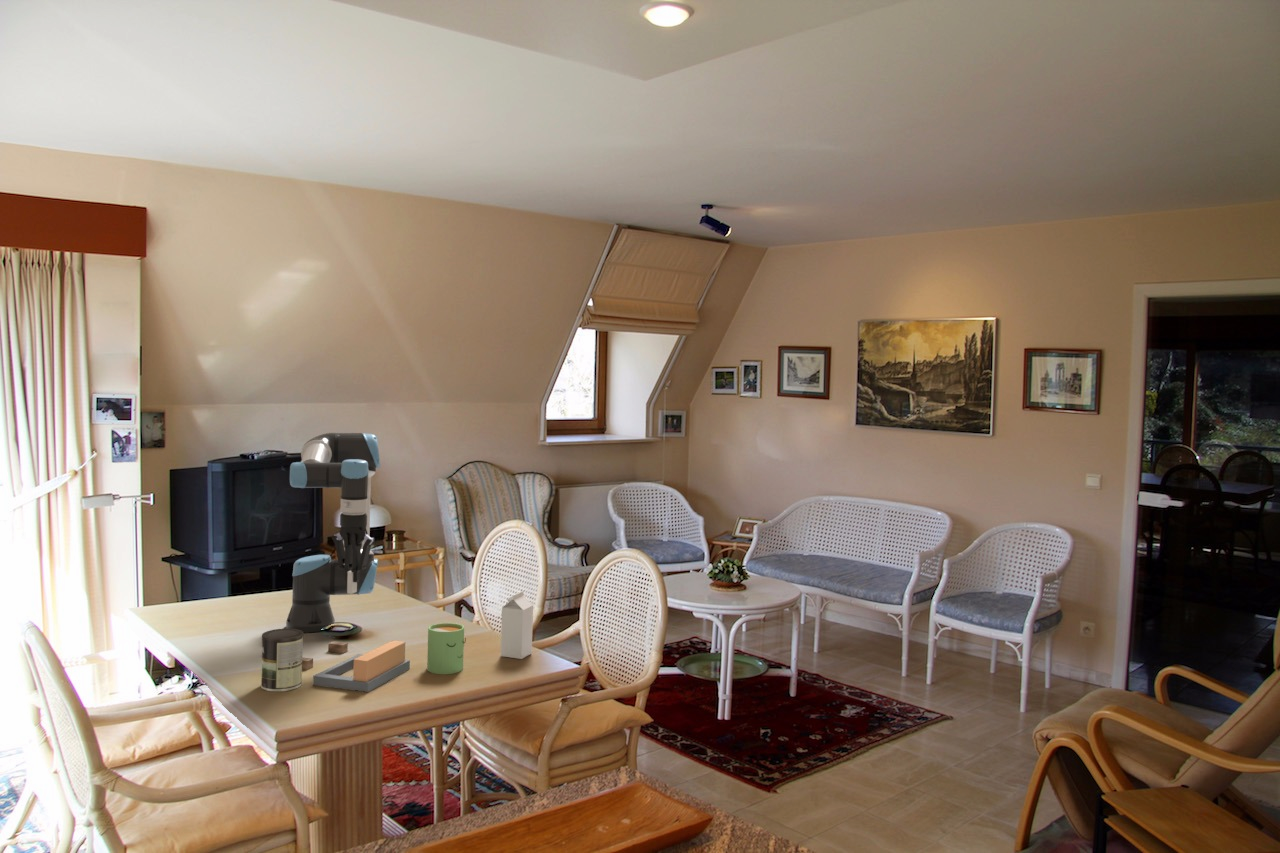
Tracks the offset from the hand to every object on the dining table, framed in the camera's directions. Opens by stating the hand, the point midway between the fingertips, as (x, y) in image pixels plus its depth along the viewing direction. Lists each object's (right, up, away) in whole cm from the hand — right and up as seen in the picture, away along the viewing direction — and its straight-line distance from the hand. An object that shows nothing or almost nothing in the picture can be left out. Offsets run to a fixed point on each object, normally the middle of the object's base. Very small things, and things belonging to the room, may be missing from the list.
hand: (351, 592), depth 273 cm
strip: (+13, -21, -17) cm, 30 cm away
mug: (+29, -21, -4) cm, 36 cm away
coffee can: (-11, -21, -25) cm, 34 cm away
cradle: (-9, -19, 0) cm, 21 cm away
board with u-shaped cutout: (+8, -21, -15) cm, 27 cm away
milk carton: (+47, -21, +11) cm, 52 cm away
